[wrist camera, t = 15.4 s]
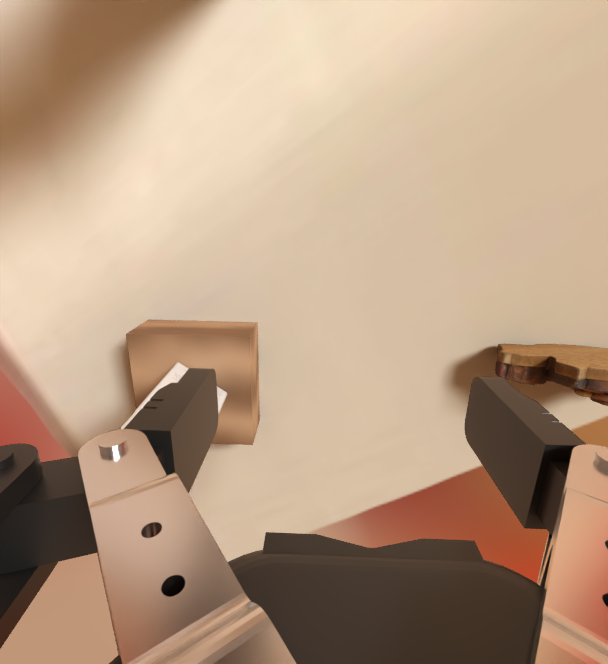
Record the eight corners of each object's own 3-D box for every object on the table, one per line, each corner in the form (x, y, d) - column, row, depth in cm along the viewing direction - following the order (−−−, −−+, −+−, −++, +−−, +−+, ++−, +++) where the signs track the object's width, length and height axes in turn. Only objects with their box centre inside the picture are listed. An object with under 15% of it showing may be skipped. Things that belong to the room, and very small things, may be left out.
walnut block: (148, 319, 41) (126, 334, 36) (257, 322, 40) (249, 337, 36) (159, 416, 44) (140, 440, 40) (259, 419, 44) (252, 444, 39)
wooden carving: (476, 374, 42) (523, 422, 32) (480, 335, 40) (531, 373, 31) (629, 370, 41) (724, 418, 31) (638, 330, 39) (741, 367, 30)
